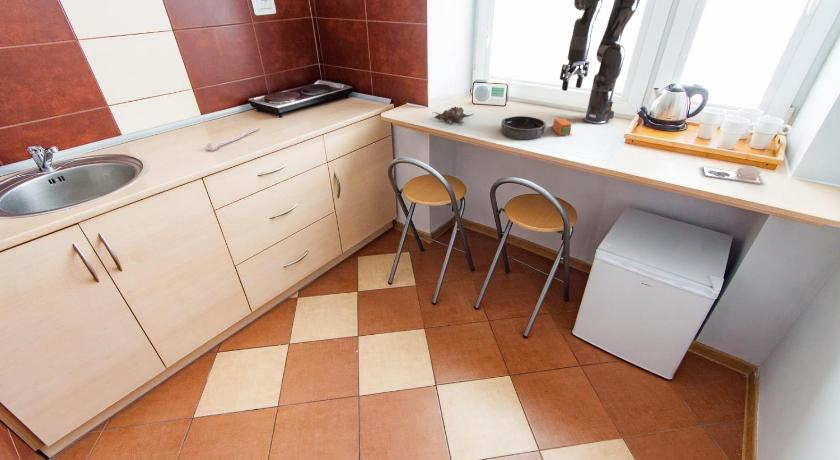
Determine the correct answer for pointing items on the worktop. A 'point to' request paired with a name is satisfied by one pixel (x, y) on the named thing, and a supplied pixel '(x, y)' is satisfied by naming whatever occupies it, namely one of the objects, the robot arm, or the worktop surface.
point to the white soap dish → (736, 174)
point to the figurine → (452, 115)
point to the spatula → (213, 145)
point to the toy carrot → (562, 126)
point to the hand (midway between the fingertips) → (571, 89)
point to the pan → (523, 127)
